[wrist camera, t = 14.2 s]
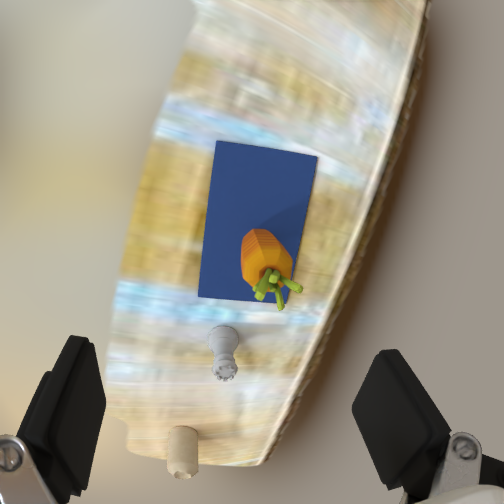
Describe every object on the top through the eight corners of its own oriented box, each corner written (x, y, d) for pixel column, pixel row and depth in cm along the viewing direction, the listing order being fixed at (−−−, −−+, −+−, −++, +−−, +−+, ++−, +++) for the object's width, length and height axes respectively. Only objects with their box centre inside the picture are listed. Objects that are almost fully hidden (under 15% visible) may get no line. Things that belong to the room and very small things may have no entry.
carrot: (281, 223, 40) (318, 279, 26) (263, 258, 41) (289, 327, 27) (244, 207, 38) (264, 257, 25) (227, 243, 40) (236, 309, 26)
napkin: (216, 140, 35) (216, 140, 35) (316, 156, 37) (317, 156, 37) (197, 295, 43) (197, 297, 42) (285, 302, 45) (286, 303, 44)
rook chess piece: (226, 318, 44) (229, 355, 37) (243, 339, 46) (250, 376, 39) (200, 333, 45) (199, 371, 38) (218, 353, 47) (221, 391, 39)
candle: (178, 422, 52) (176, 466, 43) (203, 432, 54) (204, 475, 45) (164, 434, 53) (161, 476, 44) (188, 444, 55) (188, 485, 46)
